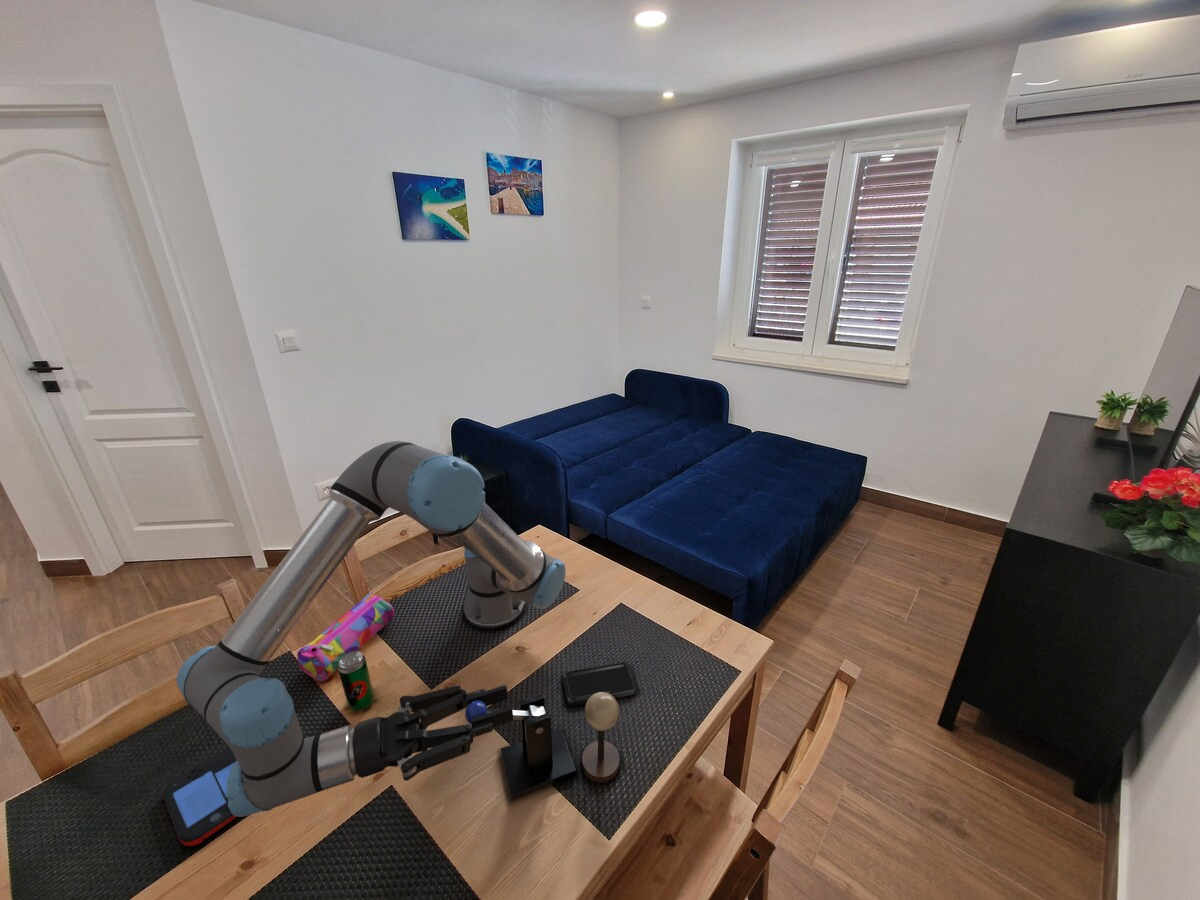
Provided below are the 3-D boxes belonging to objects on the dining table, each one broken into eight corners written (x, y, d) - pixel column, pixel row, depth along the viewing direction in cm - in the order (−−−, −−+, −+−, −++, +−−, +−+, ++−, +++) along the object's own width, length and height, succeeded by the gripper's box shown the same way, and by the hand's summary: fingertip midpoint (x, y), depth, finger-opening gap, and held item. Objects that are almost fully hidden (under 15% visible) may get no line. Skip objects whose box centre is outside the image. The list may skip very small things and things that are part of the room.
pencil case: (328, 692, 103) (319, 661, 100) (296, 679, 106) (286, 648, 103) (400, 623, 122) (394, 594, 119) (370, 613, 125) (364, 585, 121)
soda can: (380, 697, 103) (370, 654, 98) (360, 716, 98) (348, 673, 94) (363, 688, 104) (352, 646, 100) (342, 706, 100) (330, 664, 95)
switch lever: (462, 730, 77) (472, 713, 77) (460, 711, 80) (469, 694, 80) (540, 733, 84) (549, 717, 84) (535, 715, 87) (543, 700, 87)
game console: (276, 791, 85) (273, 783, 84) (186, 857, 76) (181, 848, 75) (247, 741, 93) (244, 733, 92) (163, 794, 84) (158, 786, 83)
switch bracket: (510, 800, 84) (505, 743, 78) (500, 753, 92) (495, 698, 86) (576, 775, 88) (575, 719, 82) (561, 732, 96) (560, 678, 90)
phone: (562, 672, 108) (627, 661, 111) (562, 676, 108) (627, 665, 111) (567, 703, 100) (637, 690, 103) (568, 707, 101) (637, 694, 104)
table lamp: (576, 752, 92) (576, 688, 85) (610, 740, 95) (612, 677, 88) (589, 788, 86) (590, 722, 79) (625, 774, 89) (629, 709, 82)
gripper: (362, 721, 82) (501, 679, 90) (357, 823, 68) (522, 763, 76) (354, 689, 79) (498, 649, 87) (346, 789, 65) (519, 730, 73)
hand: (509, 702), depth 81 cm, fingers closed on switch lever, 4 cm apart
